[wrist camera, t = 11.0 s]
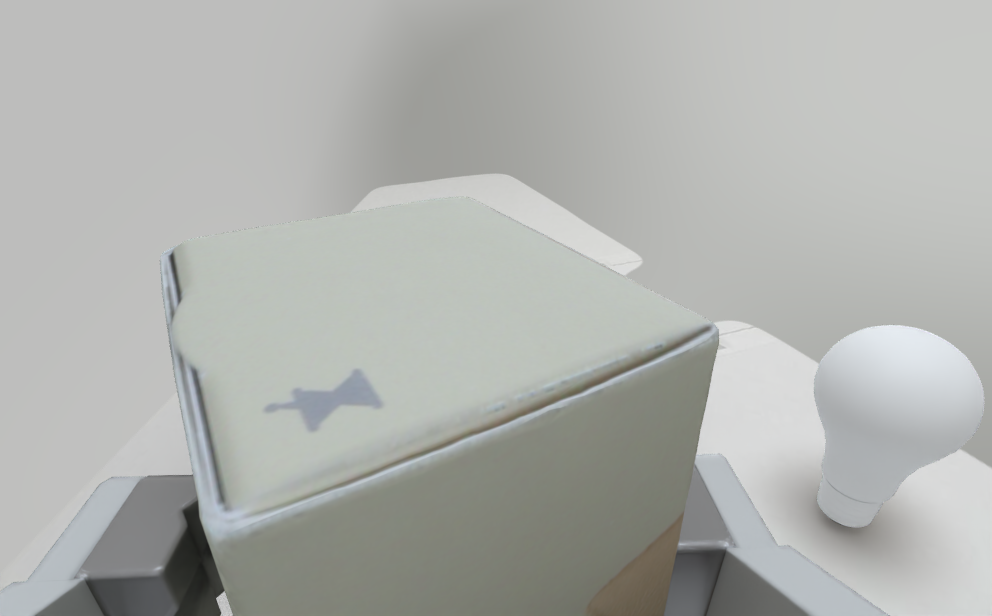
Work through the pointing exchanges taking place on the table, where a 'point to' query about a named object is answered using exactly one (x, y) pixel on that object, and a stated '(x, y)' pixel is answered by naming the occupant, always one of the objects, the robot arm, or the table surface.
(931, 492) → the table surface
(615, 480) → the box
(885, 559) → the table surface
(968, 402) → the lightbulb
